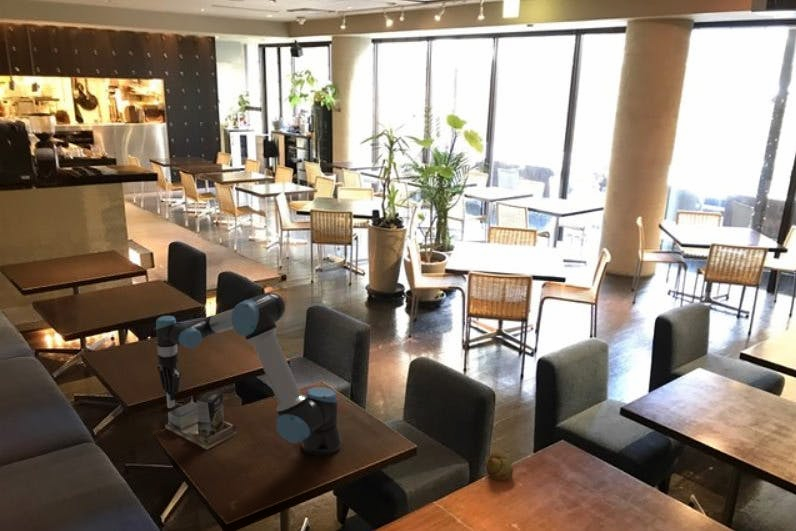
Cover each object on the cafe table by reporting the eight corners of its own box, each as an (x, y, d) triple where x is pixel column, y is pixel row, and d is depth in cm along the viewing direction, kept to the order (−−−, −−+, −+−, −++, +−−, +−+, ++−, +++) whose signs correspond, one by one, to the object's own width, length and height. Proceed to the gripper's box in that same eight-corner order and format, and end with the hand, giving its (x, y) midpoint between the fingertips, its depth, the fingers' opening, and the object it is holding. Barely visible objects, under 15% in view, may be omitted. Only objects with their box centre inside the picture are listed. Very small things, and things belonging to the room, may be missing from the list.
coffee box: (212, 441, 235) (210, 403, 231) (197, 438, 236) (195, 400, 232) (225, 429, 243) (223, 392, 239) (210, 427, 245) (208, 390, 241)
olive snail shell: (486, 461, 230) (487, 442, 228) (512, 465, 228) (514, 445, 226) (484, 481, 217) (485, 461, 215) (511, 485, 216) (513, 465, 214)
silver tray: (236, 434, 242) (235, 426, 241) (206, 449, 231) (206, 440, 230) (194, 414, 257) (194, 406, 256) (165, 427, 246) (164, 419, 245)
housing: (205, 418, 251) (204, 406, 249) (180, 429, 241) (180, 417, 240) (192, 412, 255) (192, 400, 254) (168, 423, 246) (167, 411, 245)
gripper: (185, 355, 246) (188, 407, 252) (166, 346, 254) (169, 398, 260) (169, 360, 240) (173, 414, 247) (150, 352, 248) (153, 405, 254)
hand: (171, 406), depth 253 cm, fingers closed
